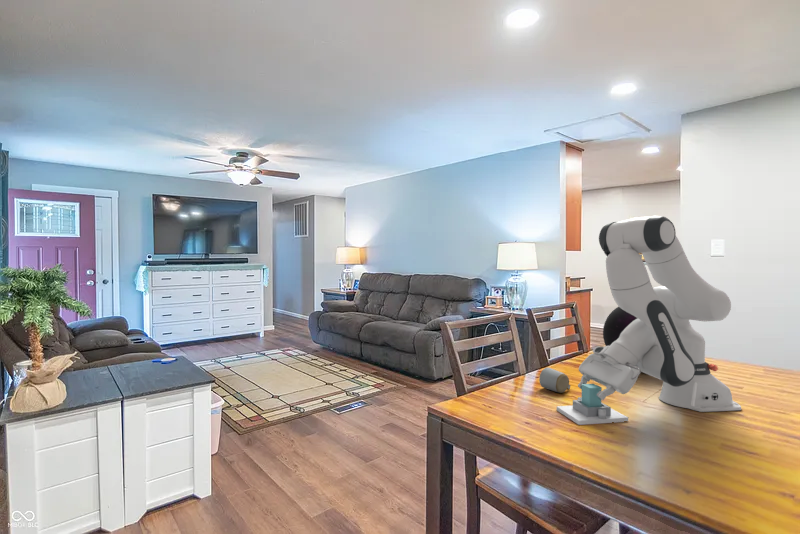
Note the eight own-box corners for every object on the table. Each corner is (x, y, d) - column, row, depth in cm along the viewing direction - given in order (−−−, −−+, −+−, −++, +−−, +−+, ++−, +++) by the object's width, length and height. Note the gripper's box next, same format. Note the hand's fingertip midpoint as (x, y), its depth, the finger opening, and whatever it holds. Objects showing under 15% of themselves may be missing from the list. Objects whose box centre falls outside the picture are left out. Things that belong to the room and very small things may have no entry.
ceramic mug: (557, 395, 147) (557, 373, 146) (538, 389, 154) (539, 368, 153) (576, 391, 152) (576, 370, 152) (557, 385, 159) (557, 365, 159)
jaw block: (593, 409, 129) (593, 383, 129) (601, 413, 126) (601, 387, 125) (581, 409, 129) (581, 384, 129) (589, 414, 125) (589, 388, 125)
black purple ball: (699, 379, 167) (700, 304, 166) (624, 378, 167) (625, 304, 167) (654, 361, 197) (655, 298, 196) (590, 360, 197) (591, 297, 197)
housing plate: (601, 407, 135) (601, 395, 135) (628, 421, 122) (629, 409, 122) (556, 409, 132) (556, 398, 132) (579, 425, 120) (579, 412, 120)
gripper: (650, 375, 119) (619, 411, 117) (603, 359, 139) (576, 389, 137) (636, 360, 118) (605, 396, 116) (591, 346, 138) (564, 376, 137)
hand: (589, 392), depth 127 cm, fingers open, 8 cm apart
